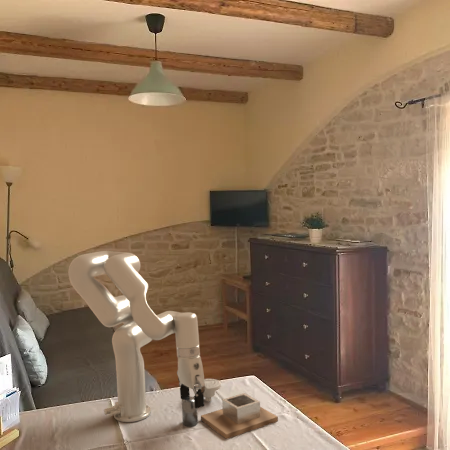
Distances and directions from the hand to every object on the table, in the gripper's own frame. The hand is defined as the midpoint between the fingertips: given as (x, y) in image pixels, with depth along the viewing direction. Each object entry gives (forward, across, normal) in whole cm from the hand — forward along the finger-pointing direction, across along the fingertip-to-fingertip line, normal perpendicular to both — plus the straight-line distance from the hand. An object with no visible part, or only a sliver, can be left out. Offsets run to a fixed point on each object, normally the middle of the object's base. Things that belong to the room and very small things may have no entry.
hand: (192, 402), depth 159 cm
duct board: (+8, -7, -13) cm, 17 cm away
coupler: (+7, +1, +1) cm, 7 cm away
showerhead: (+7, +13, -13) cm, 20 cm away
